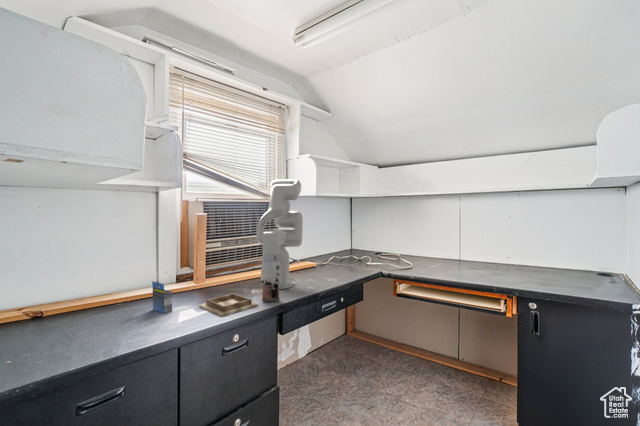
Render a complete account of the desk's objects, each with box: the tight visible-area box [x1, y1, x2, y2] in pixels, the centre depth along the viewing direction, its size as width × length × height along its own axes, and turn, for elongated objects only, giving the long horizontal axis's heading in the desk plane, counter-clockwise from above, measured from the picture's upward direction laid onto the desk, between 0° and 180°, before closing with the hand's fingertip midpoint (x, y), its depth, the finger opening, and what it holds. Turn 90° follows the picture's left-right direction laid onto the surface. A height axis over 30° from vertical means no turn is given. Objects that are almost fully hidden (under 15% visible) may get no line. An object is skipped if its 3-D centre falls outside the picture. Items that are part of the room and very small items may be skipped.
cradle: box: [199, 292, 259, 317], centre depth 136 cm, size 18×18×3 cm
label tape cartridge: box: [151, 281, 173, 314], centre depth 130 cm, size 9×4×12 cm, turn 58°
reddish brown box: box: [261, 280, 280, 302], centre depth 143 cm, size 8×3×10 cm, turn 108°
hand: (270, 295), depth 144 cm, fingers closed on reddish brown box, 4 cm apart
